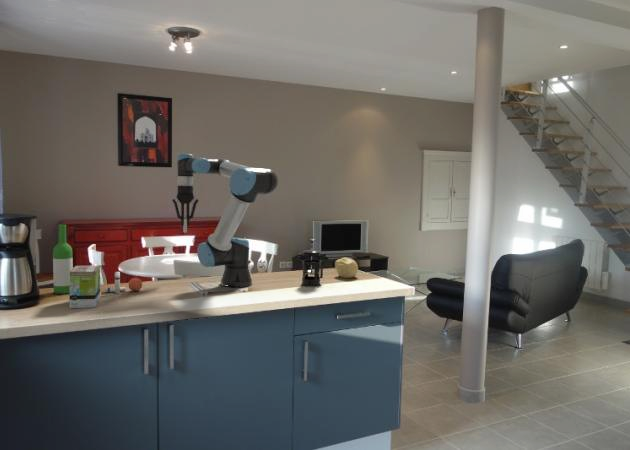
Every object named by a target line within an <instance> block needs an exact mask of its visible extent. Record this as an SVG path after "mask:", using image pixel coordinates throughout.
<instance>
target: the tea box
mask: <svg viewBox="0 0 630 450" xmlns="http://www.w3.org/2000/svg"><path fill="white" fill-rule="evenodd" d="M100 300H101V265H75V266H74V267H73V269H72V270H71V271H70V293H69V305H68V306H69V309H82V308H84V309H85V308H87V309H89V308H96V307H97V305H98V304H99V301H100Z"/></svg>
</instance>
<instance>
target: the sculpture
mask: <svg viewBox="0 0 630 450" xmlns="http://www.w3.org/2000/svg"><path fill="white" fill-rule="evenodd" d="M358 266H359V265H358V264H357V262H356V260H354V259H352V258H350V257H345V256H344V257H341V258H339V259H337V260H336V261H335V262H334V269H335V270H336V273H337V275H338V277H340V278H344V279H350V278H354V277H356V276H357V274H358V271H359V267H358Z"/></svg>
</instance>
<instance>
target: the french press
mask: <svg viewBox="0 0 630 450" xmlns="http://www.w3.org/2000/svg"><path fill="white" fill-rule="evenodd" d="M307 240H308V241H310V243H311V244H314V241H317V239H315V238H308V239H307ZM321 252H322V251H321V250H315V249H306V250H303V251H302V253H303V255H304V256H306V255H308V257H310V258H311V259H303V260H302V277H301V285H302V286H304V287H320V286H321V279H323V275H324V274H323V273H324V261H323V260H318V259H313V258H315V257H317V258H319V257H320V256H321ZM309 266H310V270H309ZM312 266H314V268H313V267H312ZM313 269H314V270H313ZM310 275H311V276H310Z"/></svg>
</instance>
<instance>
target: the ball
mask: <svg viewBox="0 0 630 450" xmlns="http://www.w3.org/2000/svg"><path fill="white" fill-rule="evenodd" d="M142 288H143V281H142V280H141V279H140V278H139V277H133V278H131V279H130V280H129V282H128V289H130V291H133V292H138V291H140V290H141V289H142Z"/></svg>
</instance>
